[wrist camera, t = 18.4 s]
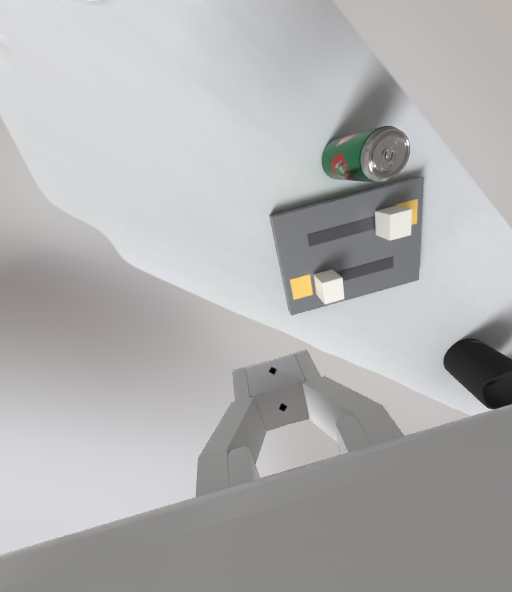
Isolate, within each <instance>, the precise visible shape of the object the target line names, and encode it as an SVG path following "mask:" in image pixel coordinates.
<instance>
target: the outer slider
mask: <svg viewBox="0 0 512 592" xmlns="http://www.w3.org/2000/svg"><path fill="white" fill-rule="evenodd" d="M314 281H315V288H316V295H317V296H318V297H319V298H320V299H321V301H322V302H323V303H324V304H329V303H332V302H336V301H340V300H343V299H344V289H343V278H342V277H341V276H340V275H339V274H337V273H336V272H335V271H334V270H333V269H331V270H328V271H324V272H320V273H317V274H314Z"/></svg>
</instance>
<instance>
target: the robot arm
mask: <svg viewBox="0 0 512 592" xmlns="http://www.w3.org/2000/svg"><path fill="white" fill-rule="evenodd" d="M86 1H101V0H86ZM232 374H233V384H234V395H235V402H232V403H231V404H230V406H229V407H228V409H227V411H226V413H225V414H224V416H223V418H222V419H221V421H220V423H219V424H218V426H217V428H216V429H215V431H214V433H213V434H212V436H211V438H210V439H209V441H208V443H207V444H206V446H205V448H204V449H203V451H202V453H201V454H200V456H199V458H198V469H197V486H196V497H195V498H192V499H188V500H185V501H182V502H178V503H175V504H171V505H168V506H165V507H161V508H158V509H154V510H151V511H148V512H144V513H141V514H137V515H134V516H131V517H127V518H124V519H121V520H117V521H114V522H110V523H107V524H104V525H100V526H97V527H93V528H90V529H87V530H83V531H80V532H76V533H73V534H69V535H66V536H63V537H59V538H56V539H53V540H49V541H46V542H42V543H39V544H36V545H32V546H29V547H25V548H22V549H19V550H15V551H12V552H8V553H5V554H2V555H0V592H512V404H511V405H508V406H505V407H501V408H498V409H494V410H491V411H488V412H484V413H481V414H477V415H474V416H471V417H467V418H464V419H460V420H457V421H453V422H450V423H447V424H443V425H440V426H436V427H433V428H430V429H426V430H423V431H419V432H416V433H413V434H409V435H406V436H404V435H403V433H402V432H401V430H400V429H399V428H398V426H397V425H396V424H395V422H394V421H393V419H392V418H391V417H390V415H389V414H388V412H387V411H386V410H385V408H384V407H383V405H381V404H379V403H377V402H375V401H373V400H371V399H369V398H367V397H365V396H363V395H361V394H359V393H357V392H355V391H353V390H351V389H349V388H347V387H345V386H343V385H341V384H339V383H337V382H335V381H333V380H332V379H330V378H328V377H325V376H323V377H321V376H320V374H319V372H318V370H317V368H316V366H315V365H314V363H313V361H312V359H311V357H310V355H309V353H308V351H307V350H303V351H299V352H296V353H294V354H290V355H287V356H283V357H280V358H276V359H273V360H269V361H265V362H261V363H257V364H253V365H250V366H246V367H243V368H239V369H235V370H233V373H232ZM307 419H310V420H311V421H312V422H313V423H315V424H316V425H317V426H318V427H319V428H321V429H322V430H323V431H324V432H325V433H327V434H328V435H329V436H330V437H331V438H333V439H334V440H335V441H336V442H338V446H339V453H340V455H338V456H335V457H331V458H328V459H325V460H321V461H318V462H314V463H311V464H307V465H304V466H301V467H297V468H294V469H291V470H287V471H284V472H280V473H277V474H273V475H270V476H267V477H263V478H260V476H259V473H258V471H257V468H256V465H255V464H256V461H257V458H258V455H259V452H260V449H261V446H262V443H263V440H264V437H265V434H266V431H269V430H272V429H275V428H278V427H281V426H284V425H287V424H291V423H295V422H299V421H303V420H307Z"/></svg>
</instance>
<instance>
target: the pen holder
mask: <svg viewBox="0 0 512 592" xmlns="http://www.w3.org/2000/svg"><path fill="white" fill-rule="evenodd" d="M444 367H445V369H446V370H447V371H448V372H449V373H450V374H451V375H452V376H453V377H454V378H455V379H456V380H458V381H459V382H460V383H461V384H462V385H463V386H464V387H465V388H466V389H467V390H468V391H470V392H471V393H472V394H473V395H474V396H475V397H476V398H477V399H478V400H479V401H480V402H481V403H483V404H484V405H485V406H486V407H487V408H489V409H498V408H501V407H505V406H508V405H511V404H512V360H511V359H510V358H508V357H506V356H505V355H503V354H501V353H500V352H498V351H496V350H495V349H493V348H491V347H489V346H488V345H486V344H484V343H482V342H480V341H478V340H476V339H466V340H462V341H460V342H458V343H456V344H455V345H453V346H452V347H451V348H450V349H449V350H448V352H447V353H446V355H445V357H444Z"/></svg>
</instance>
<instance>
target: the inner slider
mask: <svg viewBox="0 0 512 592" xmlns="http://www.w3.org/2000/svg"><path fill="white" fill-rule="evenodd" d="M411 221H412V209H409V208H404V207H399V206H393V207H389V208H385V209H381V210H378V211H375V225H376V235H377V236H379V237H382V238H384V239H387V240H389V241H391V240H395V239H399V238H402V237H406V236H410V235H411Z"/></svg>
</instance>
